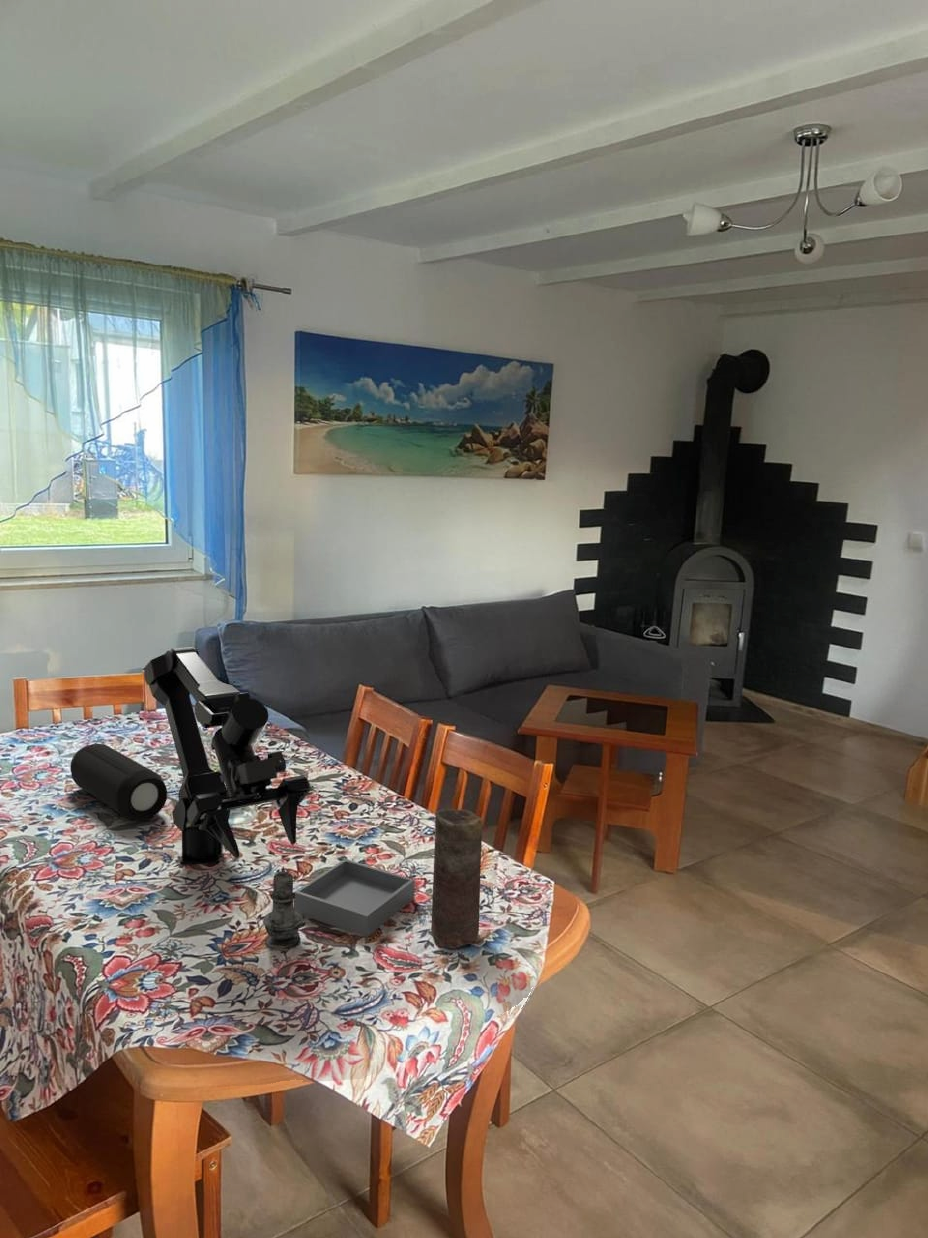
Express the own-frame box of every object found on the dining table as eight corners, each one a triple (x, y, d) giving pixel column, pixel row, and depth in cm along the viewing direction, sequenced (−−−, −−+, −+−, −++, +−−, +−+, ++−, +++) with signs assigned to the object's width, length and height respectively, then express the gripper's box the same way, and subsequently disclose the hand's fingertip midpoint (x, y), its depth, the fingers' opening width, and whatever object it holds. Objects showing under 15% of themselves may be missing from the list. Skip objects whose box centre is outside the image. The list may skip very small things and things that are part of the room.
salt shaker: (293, 954, 132) (294, 878, 129) (256, 948, 133) (256, 873, 130) (308, 934, 137) (309, 861, 135) (272, 928, 138) (272, 856, 136)
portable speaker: (171, 816, 178) (171, 768, 176) (123, 830, 171) (122, 780, 169) (112, 780, 195) (111, 736, 193) (66, 791, 188) (64, 745, 186)
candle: (429, 924, 142) (434, 804, 138) (475, 924, 142) (481, 805, 139) (431, 951, 134) (437, 825, 130) (480, 950, 135) (487, 825, 131)
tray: (293, 912, 143) (293, 892, 143) (344, 877, 156) (345, 858, 155) (366, 937, 137) (367, 916, 136) (414, 899, 149) (414, 879, 149)
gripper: (192, 745, 133) (221, 843, 126) (306, 727, 144) (339, 815, 137) (175, 779, 141) (201, 873, 134) (285, 759, 152) (314, 845, 145)
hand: (266, 850), depth 137 cm, fingers open, 9 cm apart
